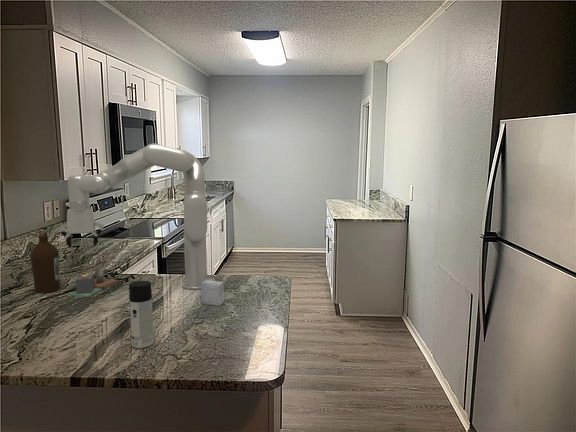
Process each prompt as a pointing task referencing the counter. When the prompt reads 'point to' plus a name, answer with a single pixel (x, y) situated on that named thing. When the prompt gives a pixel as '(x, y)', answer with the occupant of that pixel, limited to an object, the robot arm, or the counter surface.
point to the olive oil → (45, 265)
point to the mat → (85, 293)
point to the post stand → (102, 279)
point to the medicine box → (212, 292)
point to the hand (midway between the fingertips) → (82, 246)
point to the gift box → (85, 284)
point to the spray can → (141, 314)
